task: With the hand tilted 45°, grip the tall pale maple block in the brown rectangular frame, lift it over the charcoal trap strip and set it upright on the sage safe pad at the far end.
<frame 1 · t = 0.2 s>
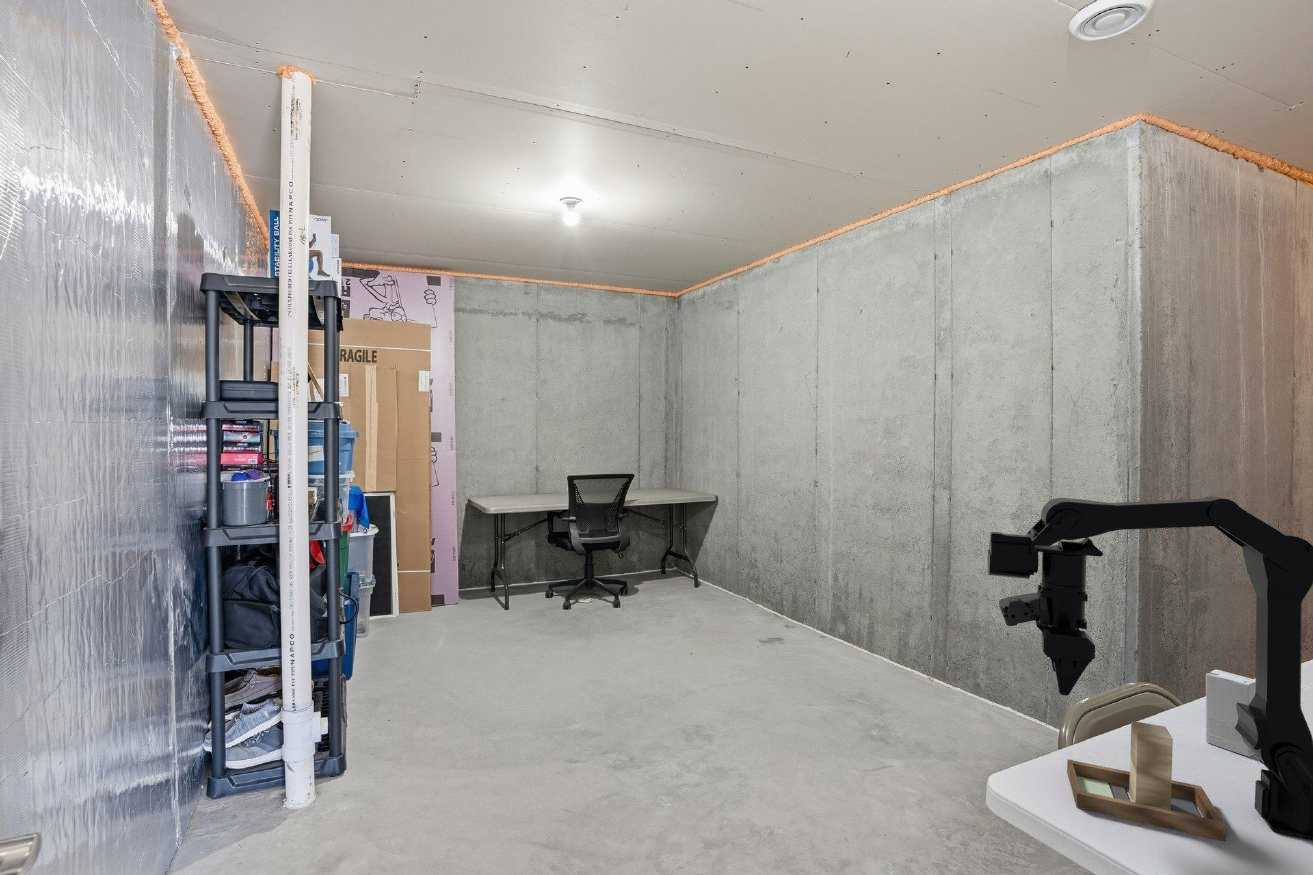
hand: (1060, 682, 100), 15 cm above the table, tool pointing down, fingers open, 9 cm apart
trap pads: (1139, 803, 94), resting in brown rectangular frame
maple block: (1149, 805, 93), resting in brown rectangular frame
brown rectangular frame: (1139, 803, 94), on the table
safe pad: (1095, 793, 96), resting in brown rectangular frame
skincare box: (1230, 748, 111), on the table
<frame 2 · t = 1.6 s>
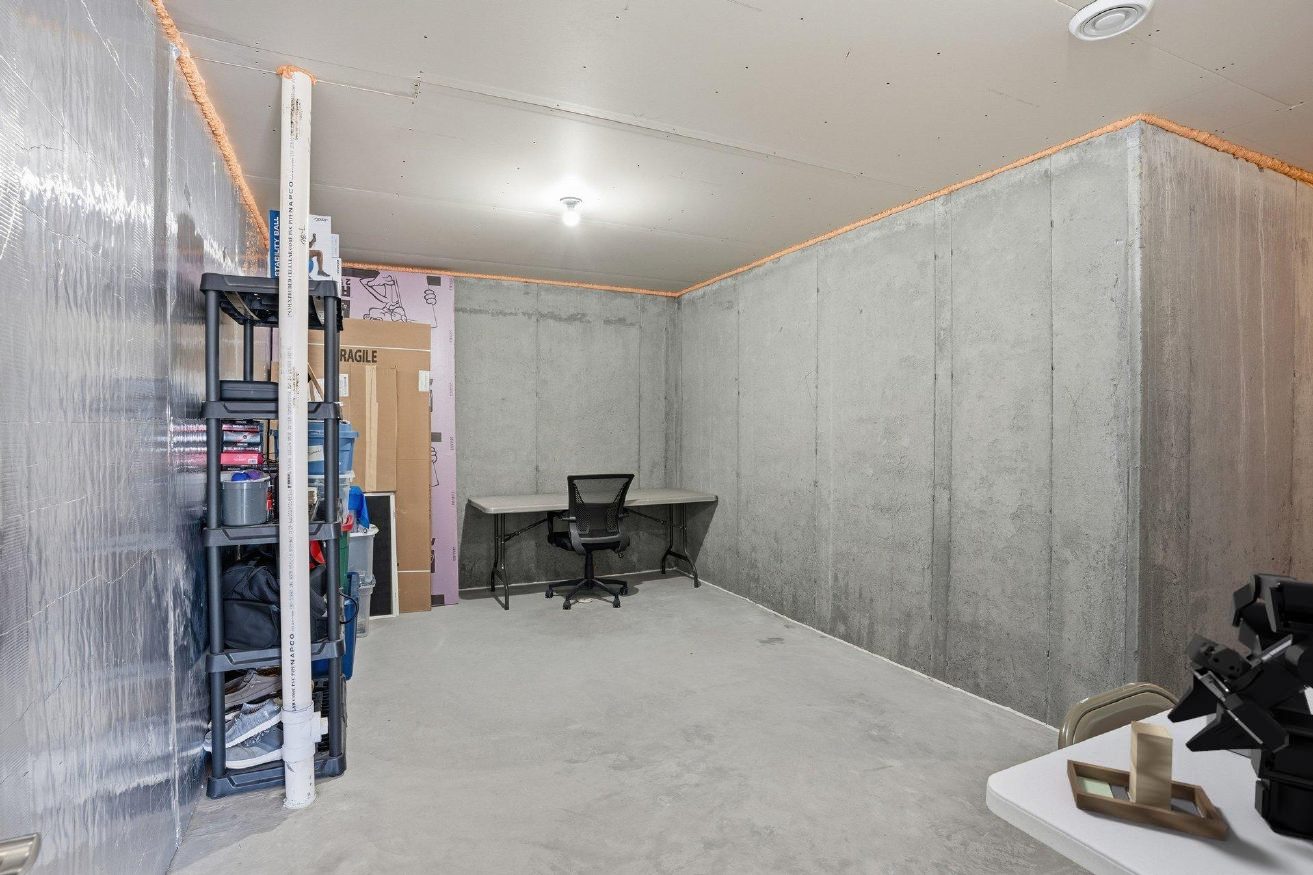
hand: (1178, 733, 92), 11 cm above the table, tool tilted 45°, fingers open, 9 cm apart
nothing on the table moved.
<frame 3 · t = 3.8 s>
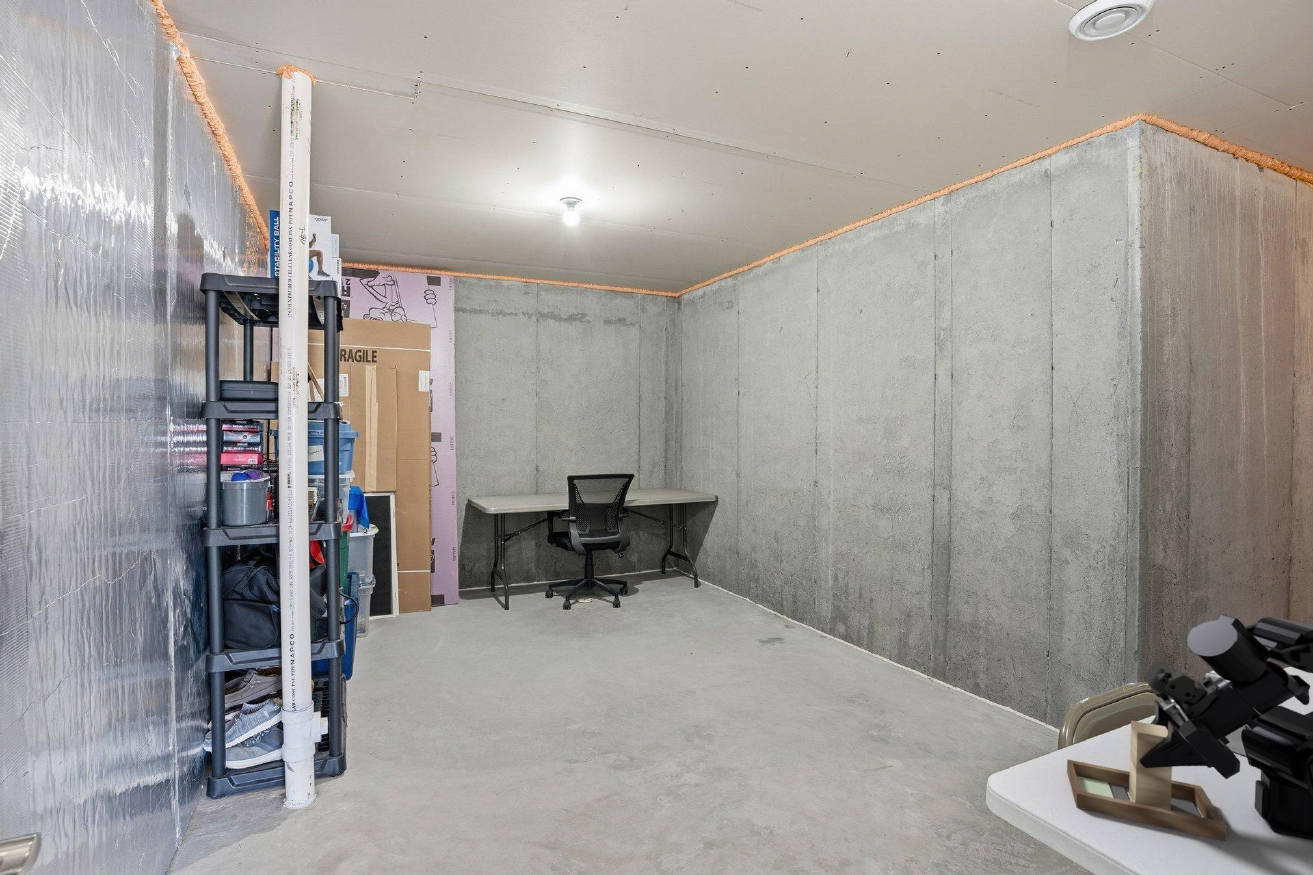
hand: (1138, 757, 94), 7 cm above the table, tool tilted 45°, fingers closed on maple block, 4 cm apart
maple block: (1149, 805, 93), resting in brown rectangular frame, touching gripper
everything else where it was.
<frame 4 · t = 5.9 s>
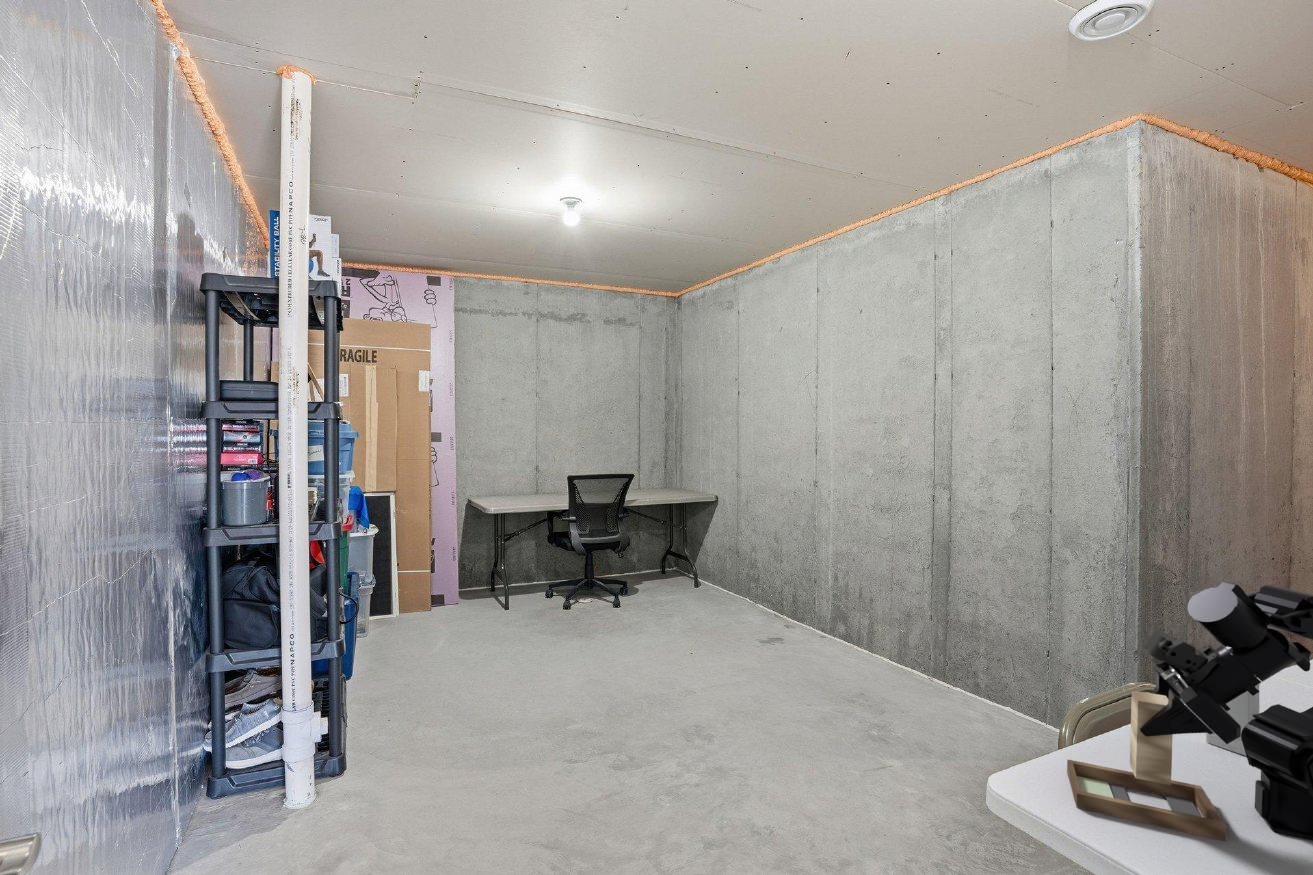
hand: (1139, 726, 94), 11 cm above the table, tool tilted 45°, fingers closed on maple block, 4 cm apart
maple block: (1149, 774, 93), point 4 cm above the table, touching gripper
everything else where it was.
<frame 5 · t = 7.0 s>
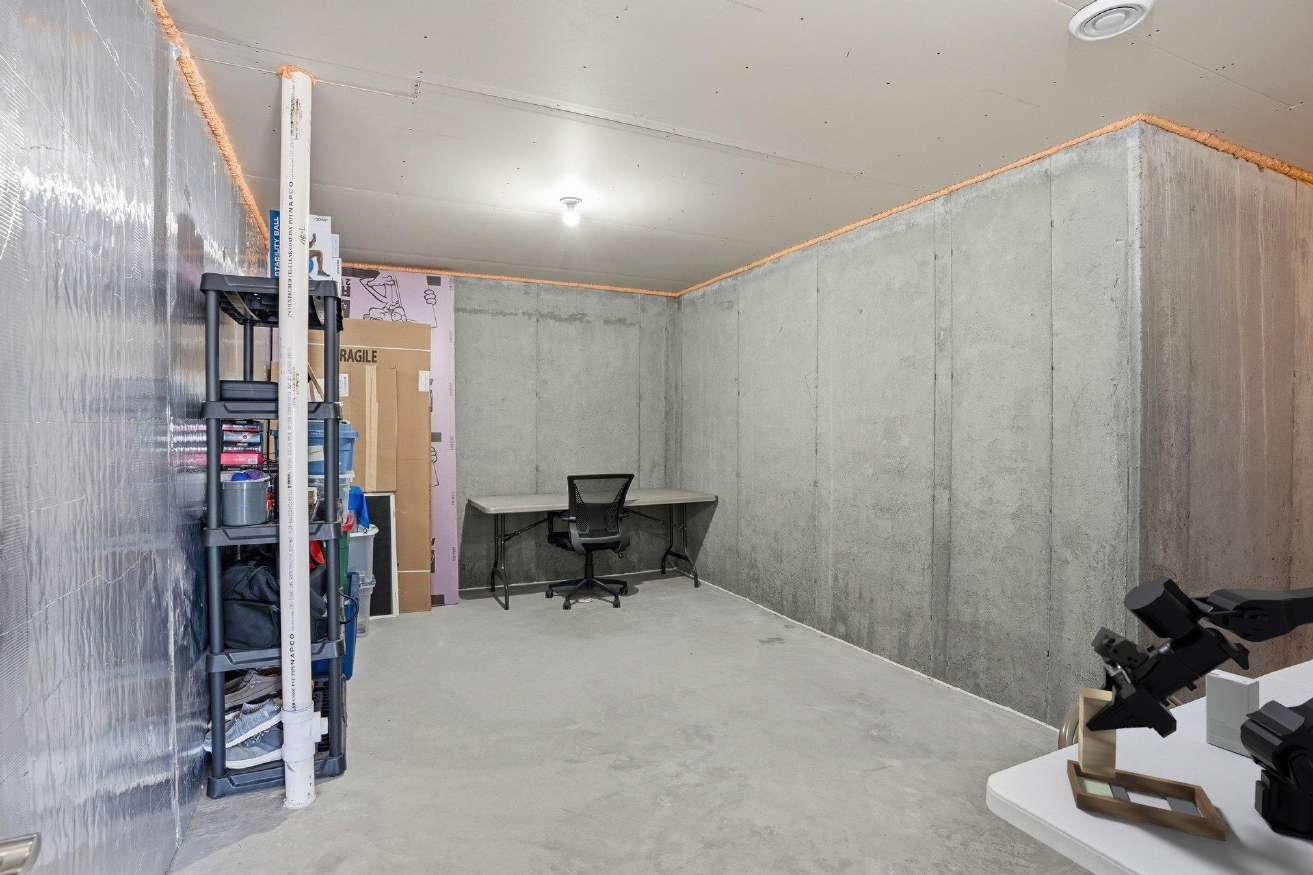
hand: (1085, 721, 97), 10 cm above the table, tool tilted 45°, fingers closed on maple block, 4 cm apart
maple block: (1096, 768, 96), point 4 cm above the table, touching gripper
everything else where it was.
when the fingers open (8 cm above the table, at t = 8.0 s): maple block stays where it is, resting on safe pad.
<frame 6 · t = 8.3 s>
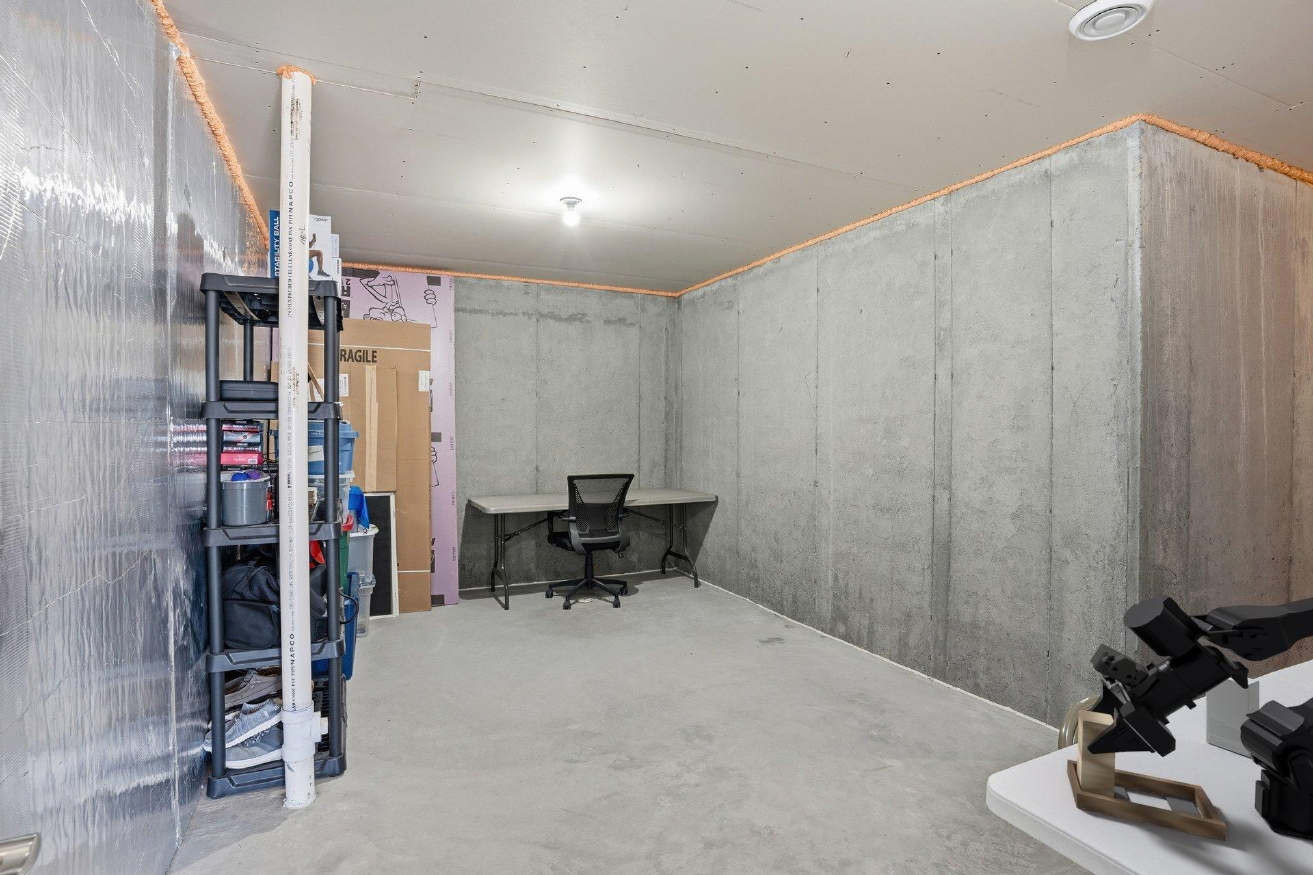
hand: (1085, 738, 97), 8 cm above the table, tool tilted 45°, fingers open, 8 cm apart
maple block: (1094, 791, 96), resting on safe pad
everything else where it was.
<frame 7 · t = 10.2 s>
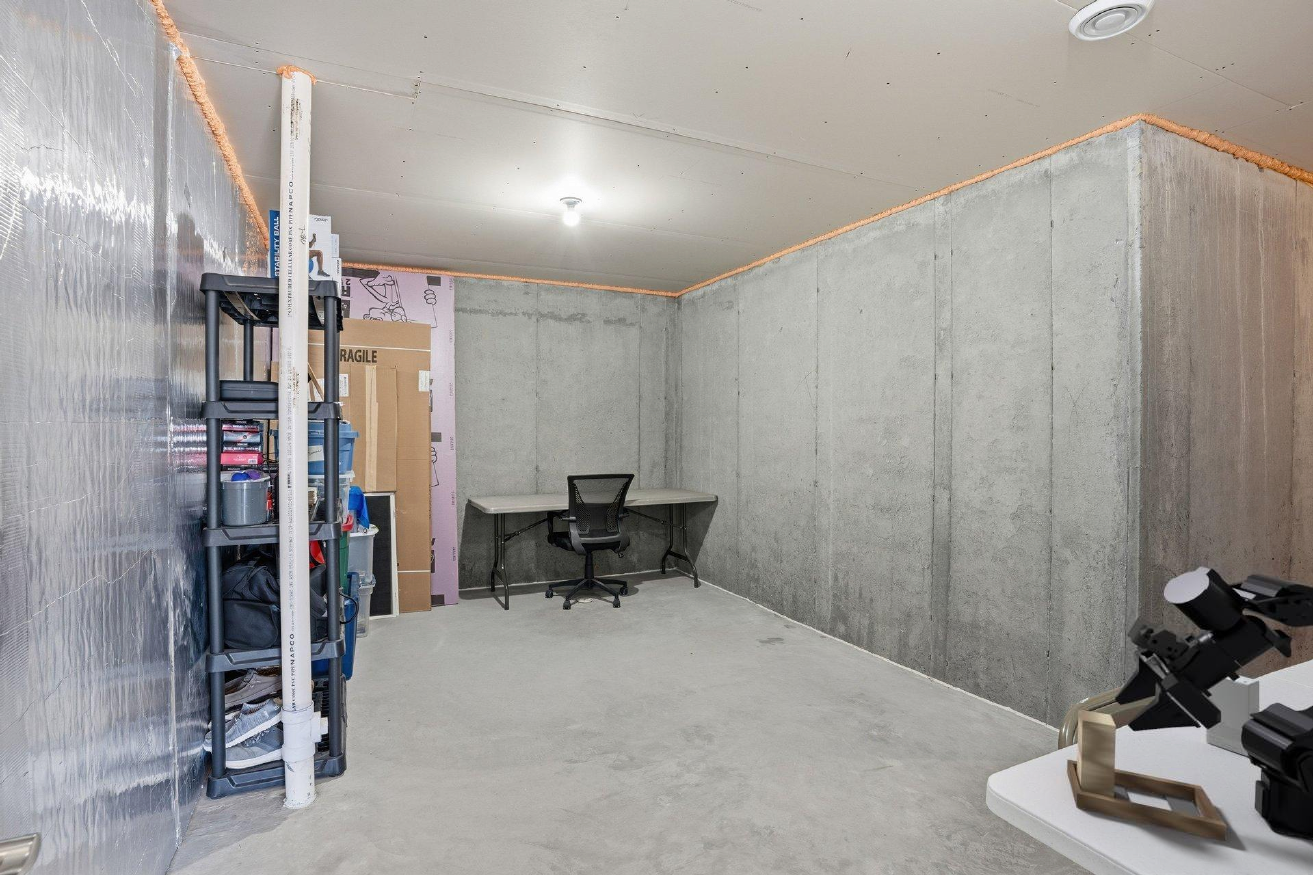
hand: (1123, 714, 95), 12 cm above the table, tool tilted 45°, fingers open, 9 cm apart
nothing on the table moved.
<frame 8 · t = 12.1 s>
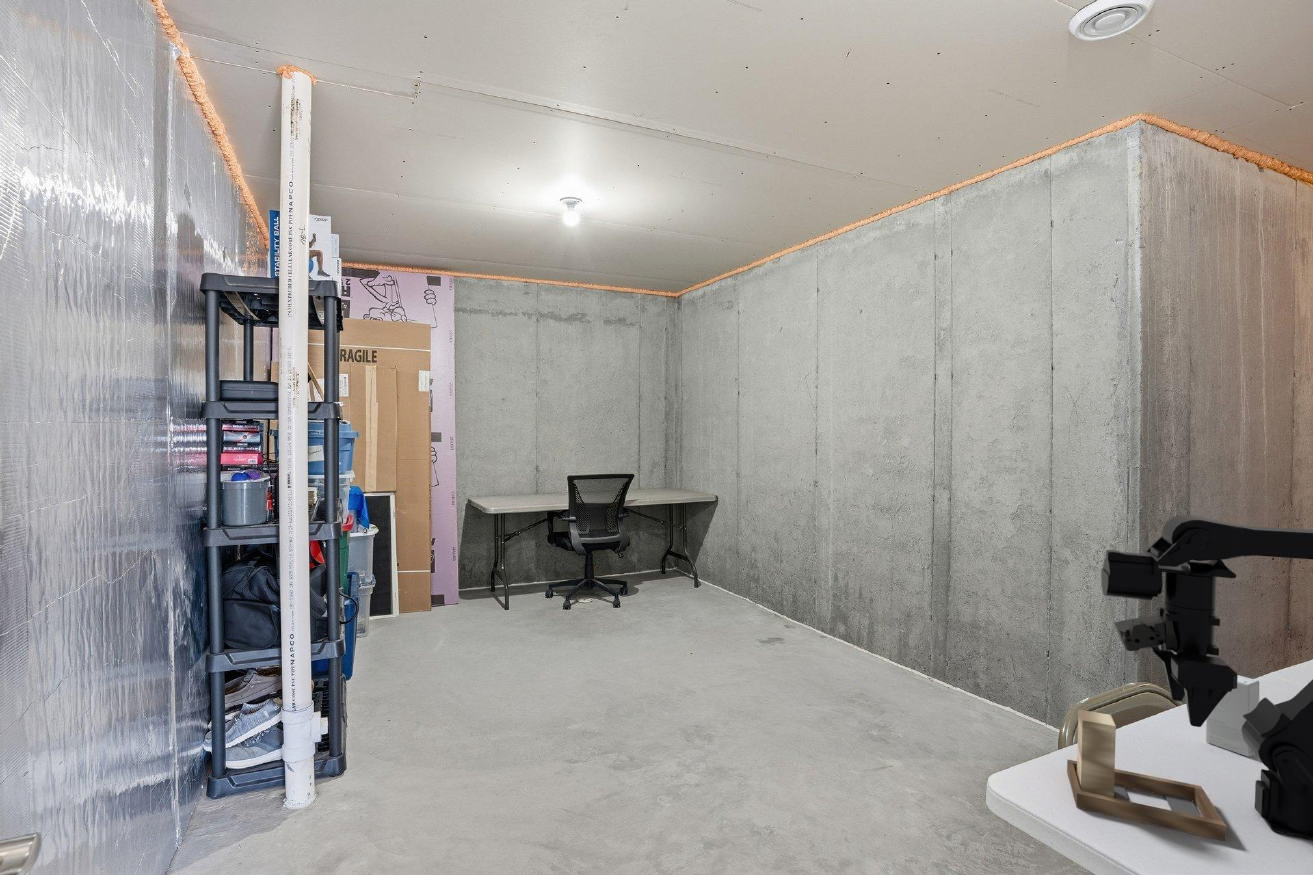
hand: (1185, 712, 94), 13 cm above the table, tool pointing down, fingers open, 9 cm apart
nothing on the table moved.
at the end: maple block 0.2 cm from the target spot, resting on safe pad; maple block tilted 0°; the gripper is holding nothing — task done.
